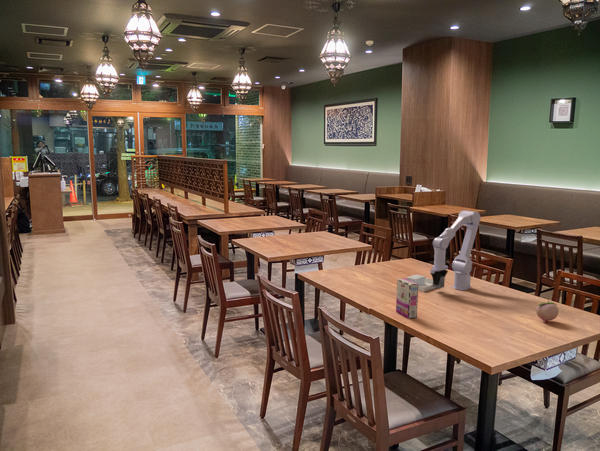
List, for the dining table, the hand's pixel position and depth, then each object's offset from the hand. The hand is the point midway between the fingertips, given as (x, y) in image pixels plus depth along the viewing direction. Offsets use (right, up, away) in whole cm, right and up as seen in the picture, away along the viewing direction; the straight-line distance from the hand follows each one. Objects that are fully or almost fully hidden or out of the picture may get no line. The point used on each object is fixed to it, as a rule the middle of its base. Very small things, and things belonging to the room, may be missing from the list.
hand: (438, 283), depth 262 cm
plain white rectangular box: (-9, -2, +15) cm, 17 cm away
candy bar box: (-25, -11, -35) cm, 44 cm away
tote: (-7, -3, +12) cm, 14 cm away
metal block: (0, -2, 0) cm, 2 cm away
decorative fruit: (+37, -12, -44) cm, 58 cm away
